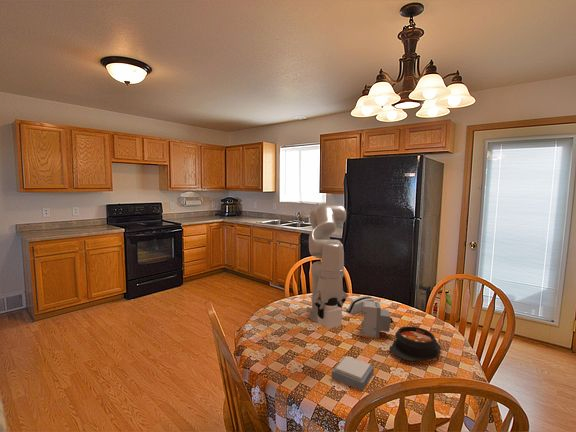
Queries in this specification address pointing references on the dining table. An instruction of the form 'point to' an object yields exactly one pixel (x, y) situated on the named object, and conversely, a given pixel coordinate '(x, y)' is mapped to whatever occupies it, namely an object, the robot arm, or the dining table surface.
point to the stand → (353, 372)
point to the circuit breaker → (374, 319)
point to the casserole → (415, 344)
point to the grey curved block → (358, 304)
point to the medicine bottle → (331, 314)
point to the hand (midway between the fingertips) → (329, 315)
